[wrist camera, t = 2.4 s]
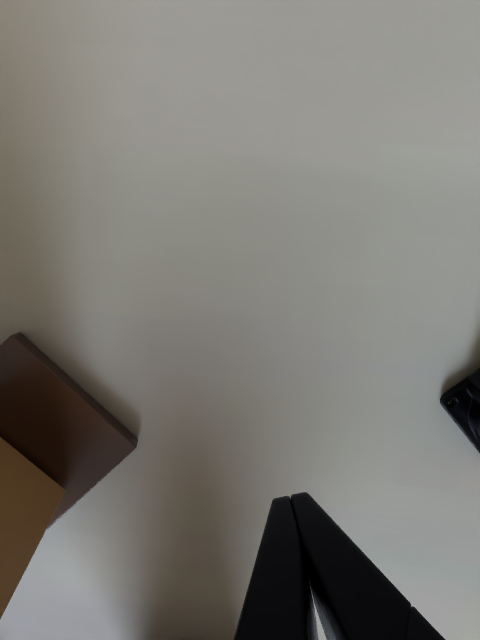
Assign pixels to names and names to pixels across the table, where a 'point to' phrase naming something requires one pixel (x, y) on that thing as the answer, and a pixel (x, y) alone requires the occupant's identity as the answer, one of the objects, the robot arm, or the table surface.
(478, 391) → the robot arm
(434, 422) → the table surface
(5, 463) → the carton
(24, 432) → the ramp
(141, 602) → the table surface
